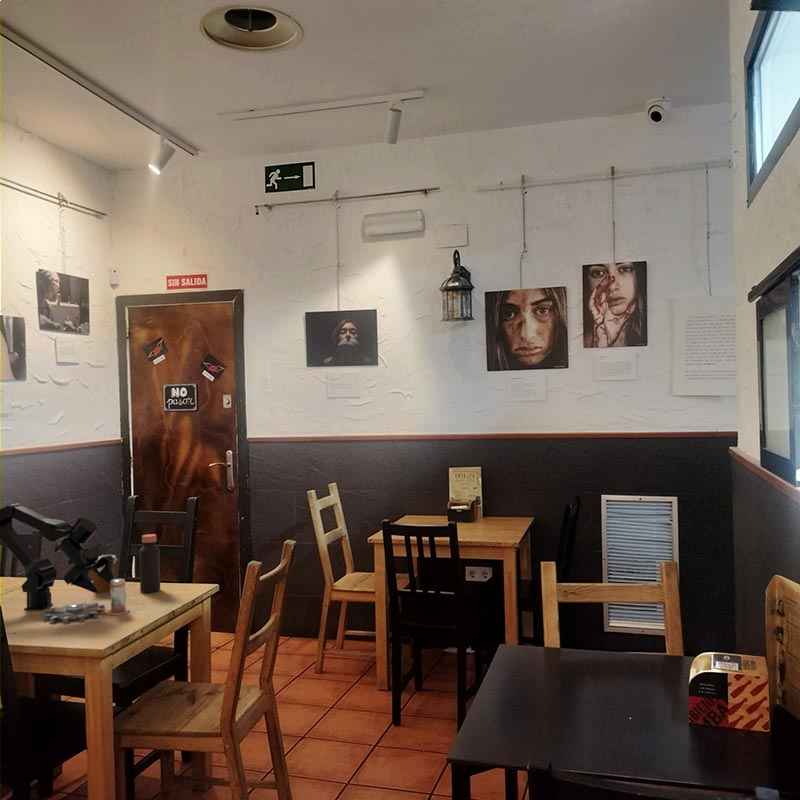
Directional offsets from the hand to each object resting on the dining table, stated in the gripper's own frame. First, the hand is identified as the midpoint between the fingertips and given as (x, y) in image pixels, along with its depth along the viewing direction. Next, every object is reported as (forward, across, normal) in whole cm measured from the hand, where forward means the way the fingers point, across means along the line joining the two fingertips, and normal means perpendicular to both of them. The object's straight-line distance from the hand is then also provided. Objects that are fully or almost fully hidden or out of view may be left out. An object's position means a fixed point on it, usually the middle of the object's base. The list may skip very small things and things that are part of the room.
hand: (105, 588), depth 234 cm
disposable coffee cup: (-7, +24, +19) cm, 31 cm away
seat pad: (+9, 0, +2) cm, 9 cm away
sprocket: (0, -5, +11) cm, 12 cm away
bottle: (+5, +26, +6) cm, 27 cm away
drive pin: (+8, 0, +2) cm, 9 cm away
